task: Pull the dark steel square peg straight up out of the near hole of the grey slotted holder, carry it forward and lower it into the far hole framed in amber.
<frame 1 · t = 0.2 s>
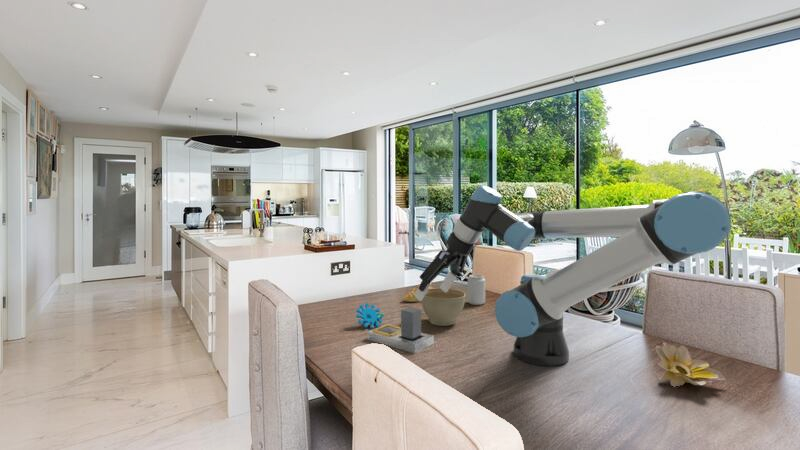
hand: (430, 294, 125), 16 cm above the table, tool tilted 30°, fingers open, 13 cm apart
planter bowl: (442, 322, 150), on the table
can: (476, 303, 176), on the table
peg: (411, 344, 127), resting in grey slotted holder
croissant: (421, 299, 184), on the table
decorative flower: (684, 385, 100), on the table
gear: (370, 326, 146), on the table
grey slotted holder: (399, 341, 130), on the table
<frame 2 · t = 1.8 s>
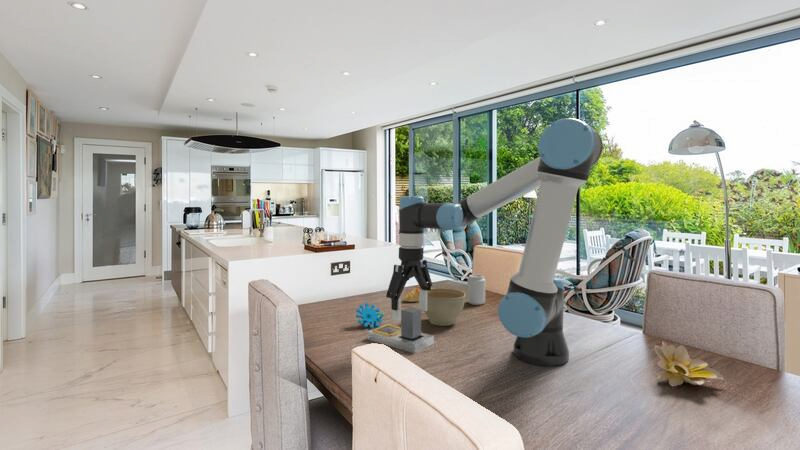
hand: (410, 315, 127), 9 cm above the table, tool pointing down, fingers open, 13 cm apart
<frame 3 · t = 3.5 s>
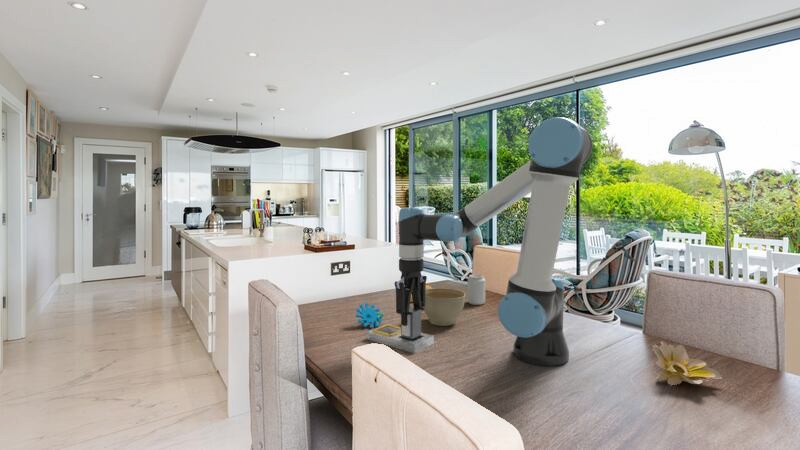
hand: (411, 332, 127), 4 cm above the table, tool pointing down, fingers closed on peg, 4 cm apart
peg: (411, 344, 127), resting in grey slotted holder, touching gripper
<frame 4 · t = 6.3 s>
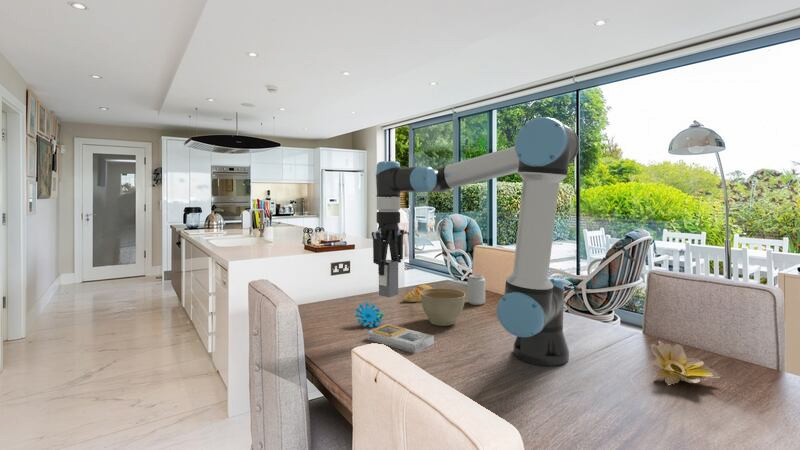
hand: (388, 283, 132), 18 cm above the table, tool pointing down, fingers closed on peg, 4 cm apart
peg: (388, 295, 132), point 14 cm above the table, touching gripper
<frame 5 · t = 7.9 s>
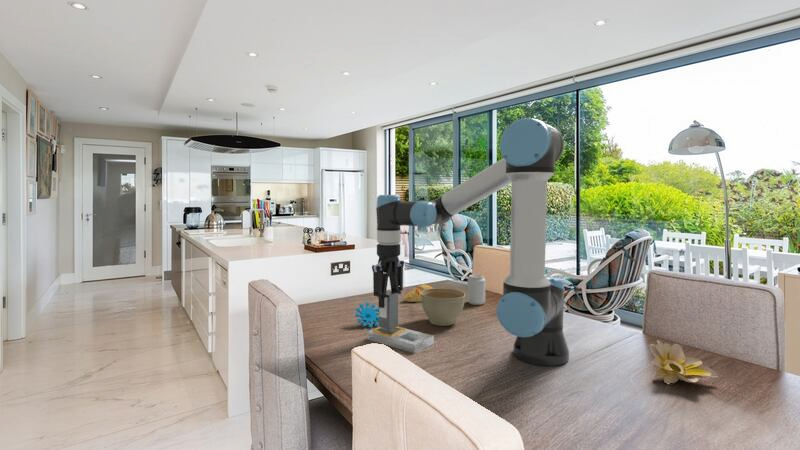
hand: (388, 315, 132), 8 cm above the table, tool pointing down, fingers closed on peg, 4 cm apart
peg: (388, 326, 133), point 4 cm above the table, touching gripper
when the fingers open (5 cm above the table, at t = 9.1 s): peg drops 1 cm, resting in grey slotted holder.
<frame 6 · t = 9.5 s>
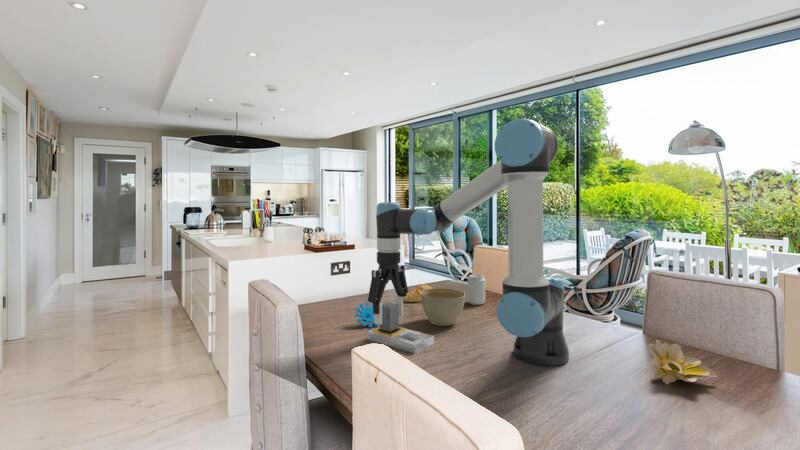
hand: (388, 319, 132), 6 cm above the table, tool pointing down, fingers open, 10 cm apart
peg: (389, 338, 133), resting in grey slotted holder
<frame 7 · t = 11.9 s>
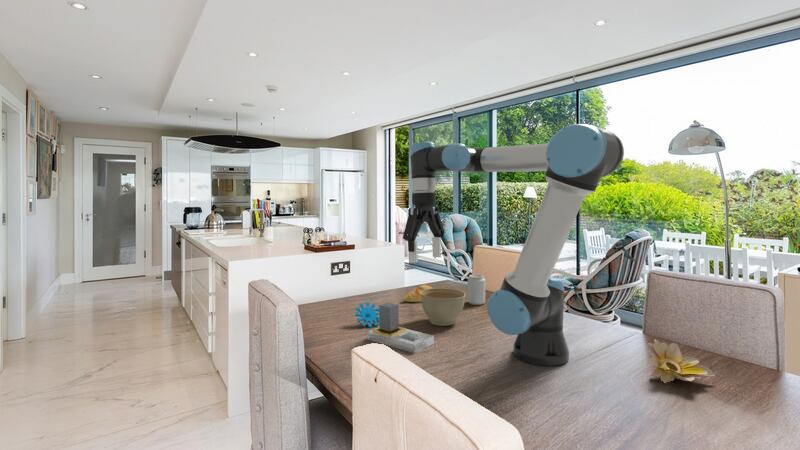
hand: (425, 259, 130), 26 cm above the table, tool pointing down, fingers open, 13 cm apart
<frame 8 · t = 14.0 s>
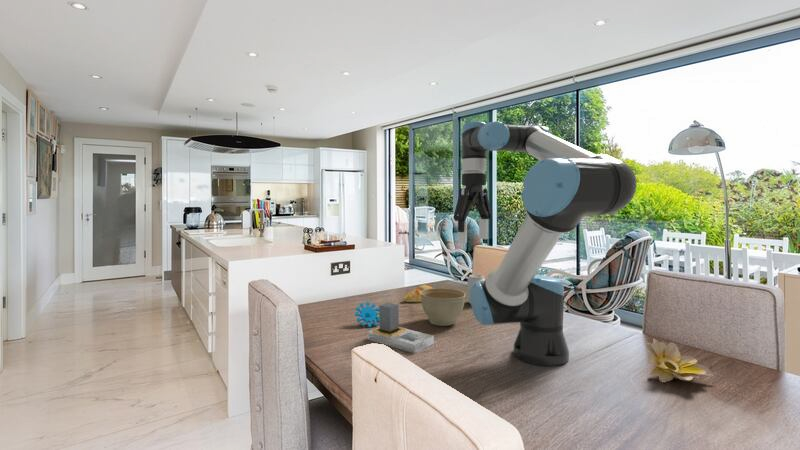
hand: (473, 240, 130), 32 cm above the table, tool pointing down, fingers open, 13 cm apart
at the end: peg 0.0 cm from the target spot on the grey slotted holder, point 0.0 cm above the grey slotted holder's base; peg tilted 0°; the gripper is holding nothing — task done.
